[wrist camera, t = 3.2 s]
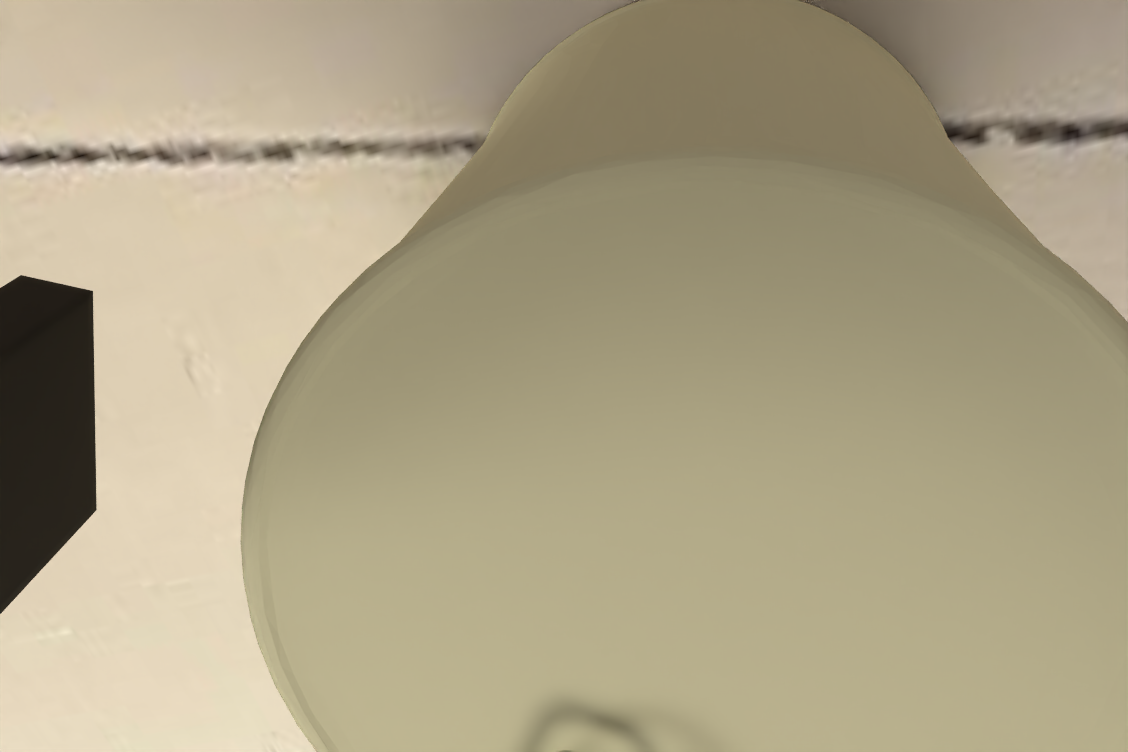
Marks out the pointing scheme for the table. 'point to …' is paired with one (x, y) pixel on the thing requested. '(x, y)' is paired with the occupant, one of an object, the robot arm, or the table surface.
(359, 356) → the can
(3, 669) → the table surface
